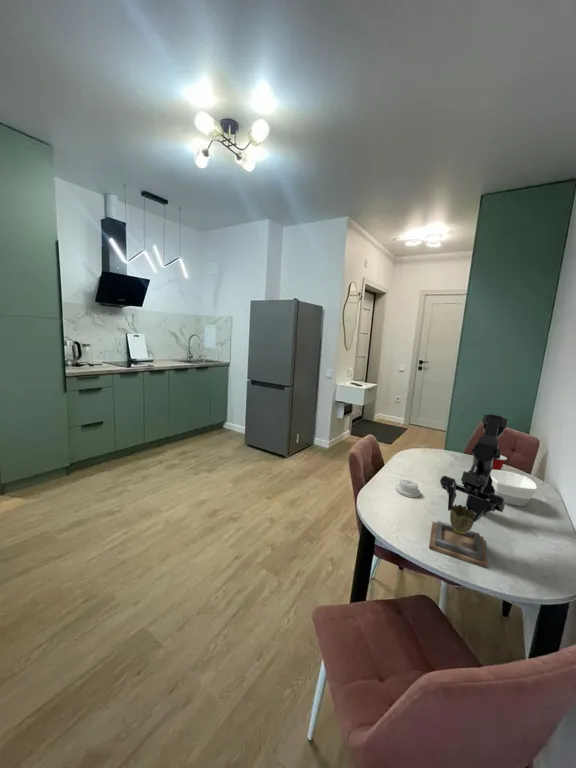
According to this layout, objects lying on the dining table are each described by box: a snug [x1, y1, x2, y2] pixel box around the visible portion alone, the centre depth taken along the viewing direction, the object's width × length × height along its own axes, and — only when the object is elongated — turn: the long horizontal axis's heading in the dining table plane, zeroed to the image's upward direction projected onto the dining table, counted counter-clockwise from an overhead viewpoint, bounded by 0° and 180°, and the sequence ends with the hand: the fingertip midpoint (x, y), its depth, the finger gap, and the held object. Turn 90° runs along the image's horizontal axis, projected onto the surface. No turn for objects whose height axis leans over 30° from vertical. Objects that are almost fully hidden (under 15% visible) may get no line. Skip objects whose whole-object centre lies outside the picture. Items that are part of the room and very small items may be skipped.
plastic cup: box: [492, 454, 508, 470], centre depth 166 cm, size 11×11×12 cm
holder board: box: [428, 520, 488, 569], centre depth 110 cm, size 16×16×2 cm
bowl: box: [490, 469, 538, 507], centre depth 145 cm, size 18×18×9 cm
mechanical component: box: [395, 478, 421, 498], centre depth 143 cm, size 10×4×10 cm
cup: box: [449, 504, 476, 535], centre depth 109 cm, size 8×7×8 cm
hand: (461, 515), depth 107 cm, fingers closed on cup, 7 cm apart
